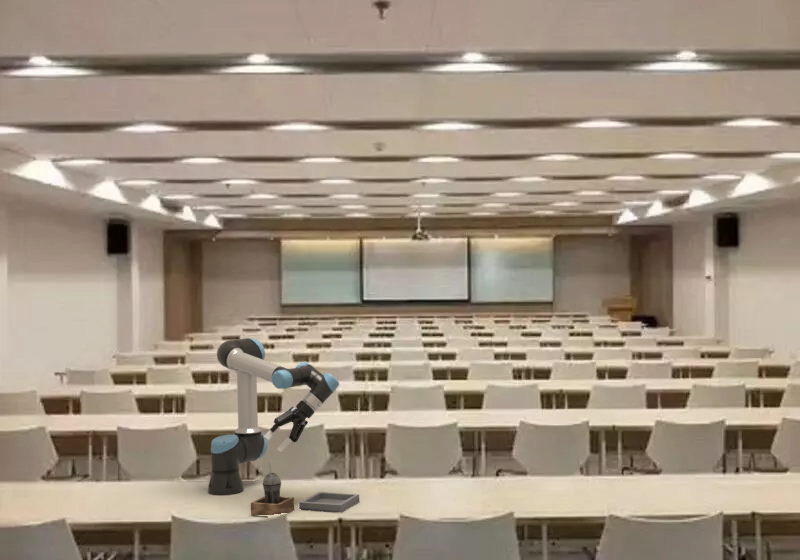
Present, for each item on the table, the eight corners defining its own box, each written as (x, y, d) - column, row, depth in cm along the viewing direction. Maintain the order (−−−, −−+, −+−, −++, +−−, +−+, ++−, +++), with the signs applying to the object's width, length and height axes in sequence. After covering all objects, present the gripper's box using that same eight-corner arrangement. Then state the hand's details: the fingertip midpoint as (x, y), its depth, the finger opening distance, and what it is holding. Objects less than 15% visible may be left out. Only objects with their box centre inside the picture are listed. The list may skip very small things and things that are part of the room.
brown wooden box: (250, 515, 379) (250, 502, 379) (266, 508, 390) (266, 495, 390) (279, 518, 374) (279, 504, 374) (294, 510, 386) (293, 497, 386)
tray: (299, 509, 386) (299, 502, 386) (319, 499, 403) (319, 491, 403) (340, 512, 380) (340, 505, 380) (359, 501, 396) (359, 494, 396)
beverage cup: (286, 511, 384) (284, 460, 383) (274, 516, 377) (272, 464, 377) (271, 509, 387) (269, 459, 387) (259, 514, 381) (258, 462, 381)
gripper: (303, 397, 388) (266, 438, 384) (325, 422, 409) (290, 461, 404) (291, 387, 392) (254, 427, 388) (313, 412, 413) (278, 450, 408)
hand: (272, 444), depth 396 cm, fingers open, 13 cm apart
